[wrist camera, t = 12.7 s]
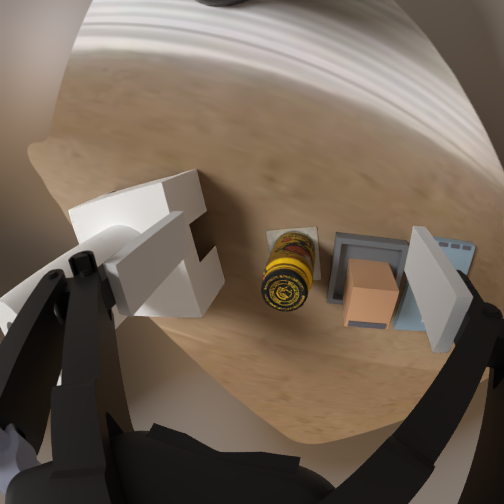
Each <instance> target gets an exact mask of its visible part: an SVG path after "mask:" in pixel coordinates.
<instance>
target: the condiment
mask: <svg viewBox="0 0 504 504" xmlns="http://www.w3.org/2000/svg"><path fill="white" fill-rule="evenodd" d="M266 234H267V239H268V246H269V251H270V257H269V260H268V262H267V265H266V267H265V270H264V272H263V282H262V287H261V292H262V296H263V299H264V301H265V302H266V303H267V304H268V305H269V306H271V307H272V308H274V309H277V310H279V311H293V310H296V309H298V308H299V307H301V306H302V305H303V304H304V302H305V301H306V299H307V297H308V296H307V295H308V292H309V290H310V289H311V286H312V282H313V280H321V271H320V259H319V247H318V236H317V227H310V228H294V229H283V230H273V231H266Z"/></svg>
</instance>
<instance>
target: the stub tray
mask: <svg viewBox="0 0 504 504" xmlns="http://www.w3.org/2000/svg"><path fill="white" fill-rule="evenodd" d="M408 250H409V245H408V243H407V241H406V240H398V239H390V238H382V237H374V236H366V235H357V234H348V233H340V232H336V237H335V245H334V252H333V259H332V266H331V273H330V279H329V286H328V292H327V303H332V304H342V305H343V290H344V285H345V279H346V274H347V268H348V262H349V258H353V259H361V260H370V261H379V262H388V263H389V266H390V268H391V271H392V273H393V276H394V279H395V281H396V284H397V287H398V289H399V285H400V282H401V278H402V274H403V270H404V267H405V263H406V258H407V254H408Z"/></svg>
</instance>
